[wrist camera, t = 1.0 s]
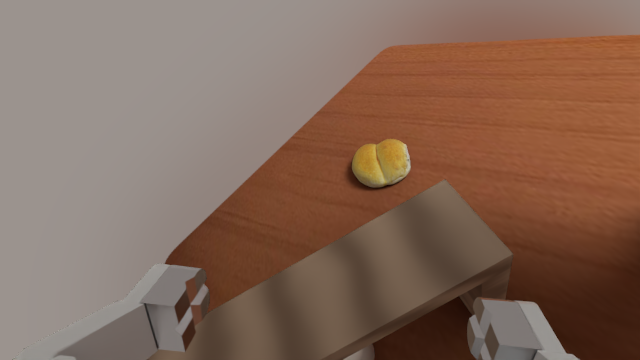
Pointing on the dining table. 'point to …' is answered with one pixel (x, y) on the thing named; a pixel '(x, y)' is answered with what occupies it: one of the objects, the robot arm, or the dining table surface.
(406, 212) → the arch
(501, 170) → the dining table surface
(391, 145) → the bread roll
